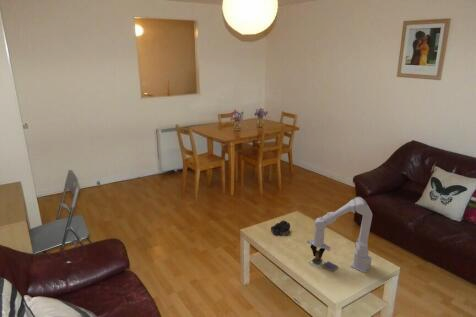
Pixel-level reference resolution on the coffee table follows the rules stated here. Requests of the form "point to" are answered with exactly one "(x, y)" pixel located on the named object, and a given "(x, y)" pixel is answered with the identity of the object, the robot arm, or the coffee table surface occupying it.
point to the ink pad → (330, 266)
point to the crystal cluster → (281, 228)
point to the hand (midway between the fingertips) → (317, 256)
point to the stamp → (317, 258)
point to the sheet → (316, 264)
